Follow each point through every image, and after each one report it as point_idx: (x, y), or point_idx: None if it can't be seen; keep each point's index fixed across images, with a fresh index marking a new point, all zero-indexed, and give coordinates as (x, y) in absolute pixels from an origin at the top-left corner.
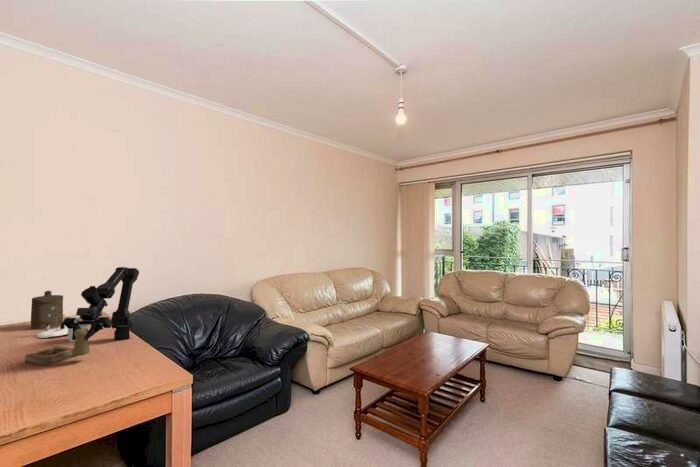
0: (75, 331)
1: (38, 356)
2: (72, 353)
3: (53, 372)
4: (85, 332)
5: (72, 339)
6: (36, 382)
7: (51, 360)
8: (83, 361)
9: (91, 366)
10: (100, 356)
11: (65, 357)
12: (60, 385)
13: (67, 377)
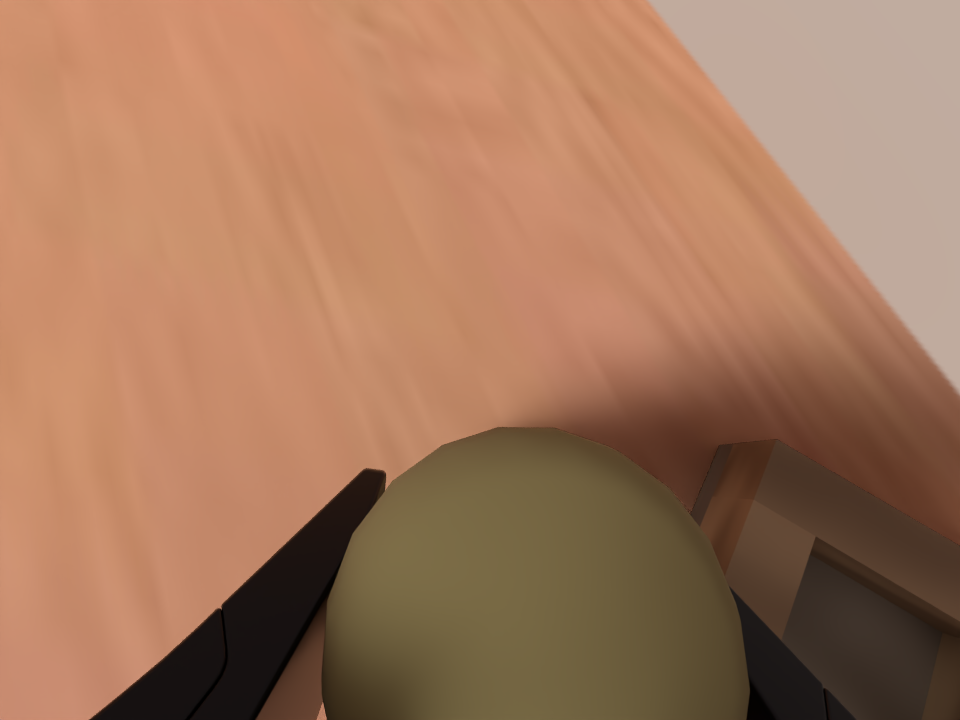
0: (689, 523)
1: (909, 531)
2: None
3: (565, 268)
4: (370, 519)
5: None
6: (570, 104)
7: (729, 484)
8: None
9: (301, 333)
10: None
11: None
12: (381, 10)
13: (400, 132)
